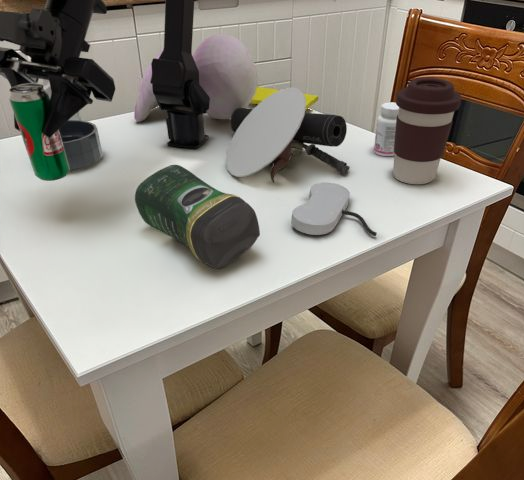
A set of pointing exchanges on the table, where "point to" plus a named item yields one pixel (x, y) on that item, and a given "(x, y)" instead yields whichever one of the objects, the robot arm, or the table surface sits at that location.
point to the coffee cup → (423, 128)
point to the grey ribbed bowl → (81, 143)
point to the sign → (266, 92)
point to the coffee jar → (197, 215)
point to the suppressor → (307, 127)
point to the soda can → (38, 132)
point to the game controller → (324, 210)
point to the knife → (324, 157)
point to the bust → (213, 78)
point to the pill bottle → (386, 129)
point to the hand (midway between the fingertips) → (32, 133)
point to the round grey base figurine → (267, 134)
